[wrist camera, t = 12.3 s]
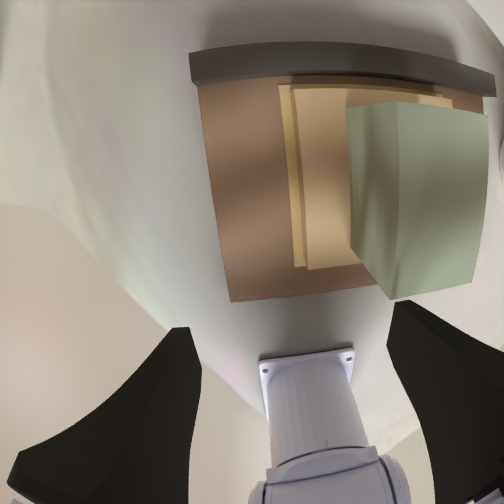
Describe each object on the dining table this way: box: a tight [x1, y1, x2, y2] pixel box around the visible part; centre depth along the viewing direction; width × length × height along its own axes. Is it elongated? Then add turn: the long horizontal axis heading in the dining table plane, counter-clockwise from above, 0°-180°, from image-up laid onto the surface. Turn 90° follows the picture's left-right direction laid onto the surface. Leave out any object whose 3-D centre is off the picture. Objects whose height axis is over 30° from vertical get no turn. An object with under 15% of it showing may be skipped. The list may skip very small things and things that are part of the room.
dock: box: [189, 42, 497, 302], centre depth 15 cm, size 14×18×4 cm
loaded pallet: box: [290, 88, 489, 300], centre depth 11 cm, size 9×9×6 cm
